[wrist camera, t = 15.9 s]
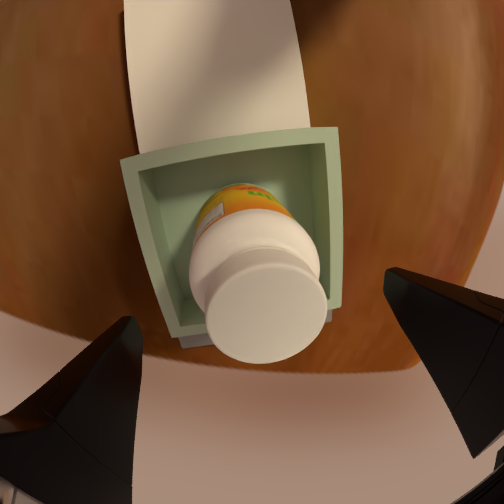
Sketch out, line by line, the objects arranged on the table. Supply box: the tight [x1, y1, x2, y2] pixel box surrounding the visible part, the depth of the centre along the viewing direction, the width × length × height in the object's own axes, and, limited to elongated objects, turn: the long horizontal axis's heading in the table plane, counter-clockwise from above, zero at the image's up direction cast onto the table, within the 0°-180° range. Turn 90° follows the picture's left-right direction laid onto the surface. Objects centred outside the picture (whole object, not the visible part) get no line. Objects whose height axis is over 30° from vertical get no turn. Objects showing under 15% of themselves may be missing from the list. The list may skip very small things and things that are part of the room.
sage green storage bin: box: [120, 127, 343, 338], centre depth 17 cm, size 11×11×6 cm
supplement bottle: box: [189, 183, 327, 364], centre depth 13 cm, size 5×5×10 cm
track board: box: [124, 0, 332, 349], centre depth 17 cm, size 12×28×4 cm, turn 8°
